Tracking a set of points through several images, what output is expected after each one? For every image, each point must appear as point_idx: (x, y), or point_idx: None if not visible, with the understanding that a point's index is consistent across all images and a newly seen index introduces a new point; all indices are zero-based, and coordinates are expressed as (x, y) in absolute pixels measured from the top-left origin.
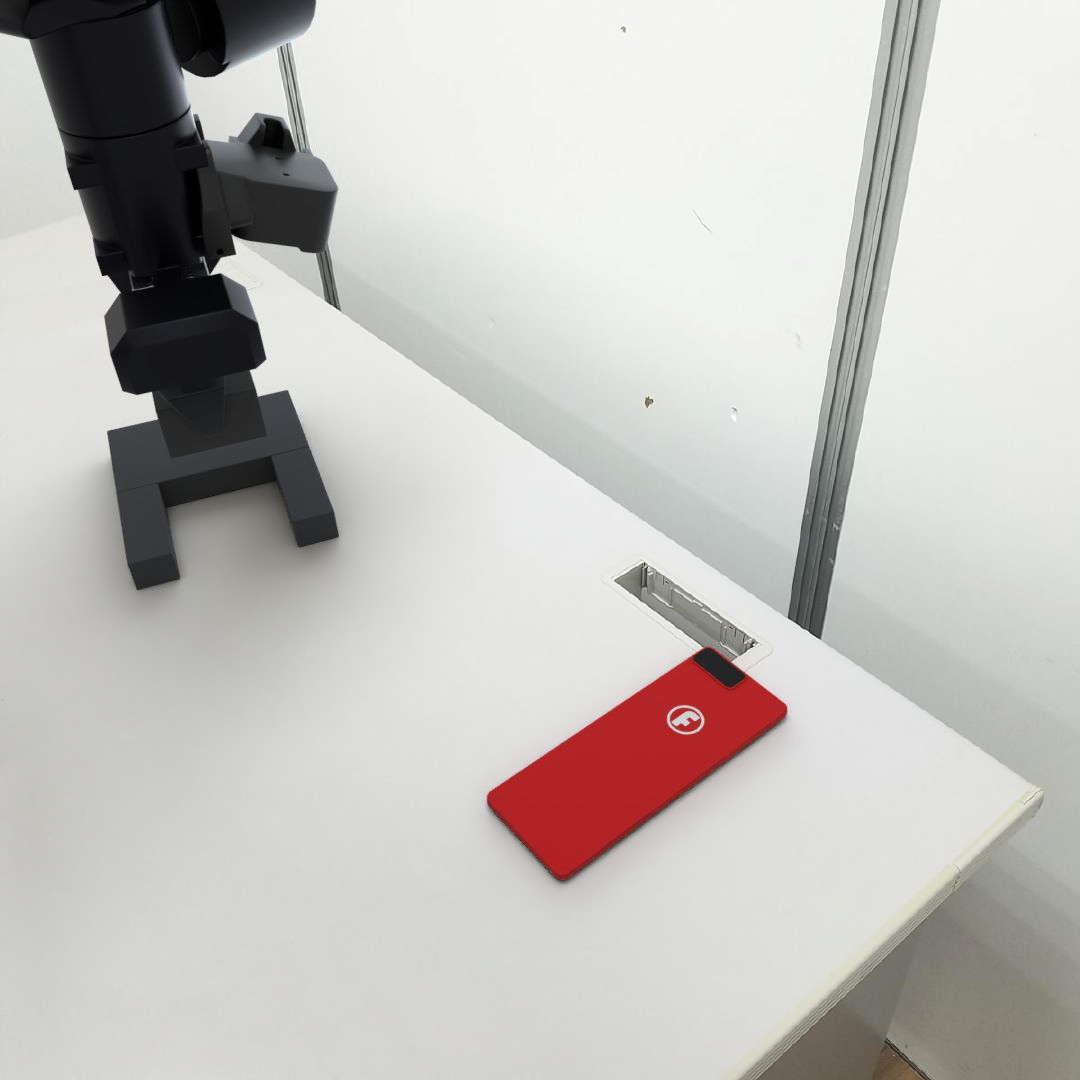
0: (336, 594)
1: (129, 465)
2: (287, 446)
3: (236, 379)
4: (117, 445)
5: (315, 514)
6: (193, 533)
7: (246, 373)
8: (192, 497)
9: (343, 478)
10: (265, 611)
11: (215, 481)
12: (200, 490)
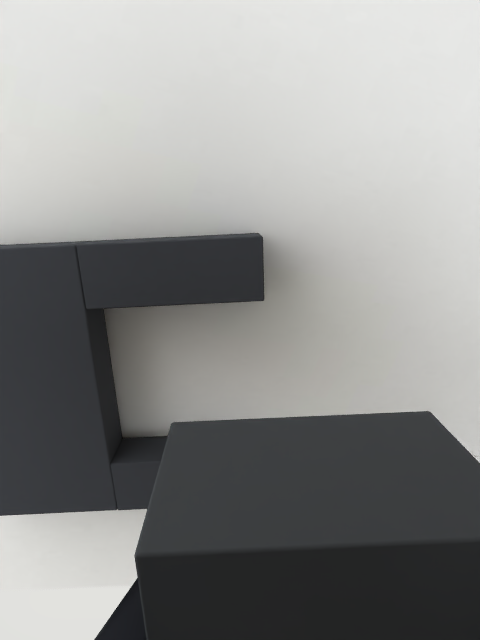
0: (370, 258)
1: (58, 494)
2: (67, 280)
3: (442, 591)
4: (5, 506)
5: (258, 265)
6: (184, 411)
7: (416, 555)
8: (116, 409)
9: (123, 200)
10: (362, 346)
11: (106, 385)
12: (112, 401)
